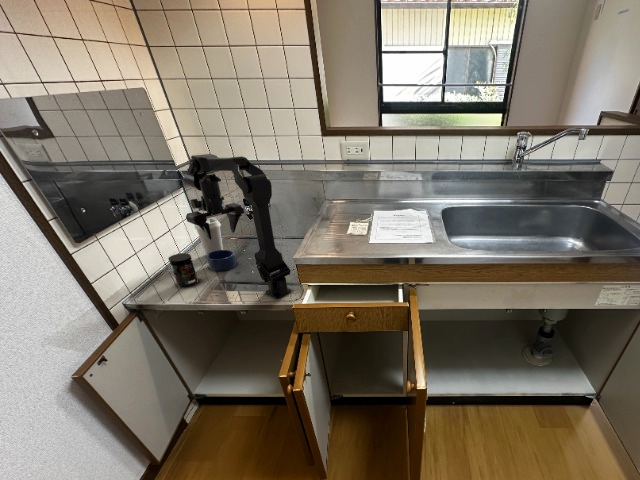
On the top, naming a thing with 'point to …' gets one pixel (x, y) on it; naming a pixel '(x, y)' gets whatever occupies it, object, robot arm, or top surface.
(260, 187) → the robot arm
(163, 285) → the top surface
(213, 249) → the coffee cup
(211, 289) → the top surface
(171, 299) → the top surface
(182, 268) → the supplement container
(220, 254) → the blue rimmed bowl
